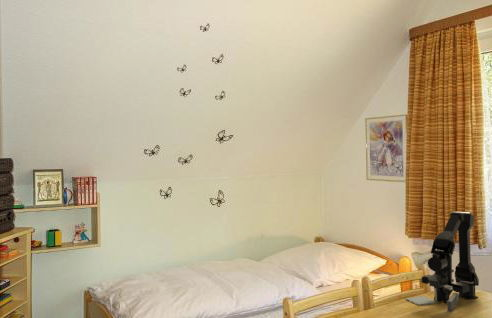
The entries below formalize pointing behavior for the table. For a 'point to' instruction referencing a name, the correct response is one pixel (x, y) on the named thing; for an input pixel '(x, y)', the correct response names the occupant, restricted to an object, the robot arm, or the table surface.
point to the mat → (421, 300)
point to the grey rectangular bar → (452, 302)
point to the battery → (438, 296)
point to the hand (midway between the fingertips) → (444, 303)
